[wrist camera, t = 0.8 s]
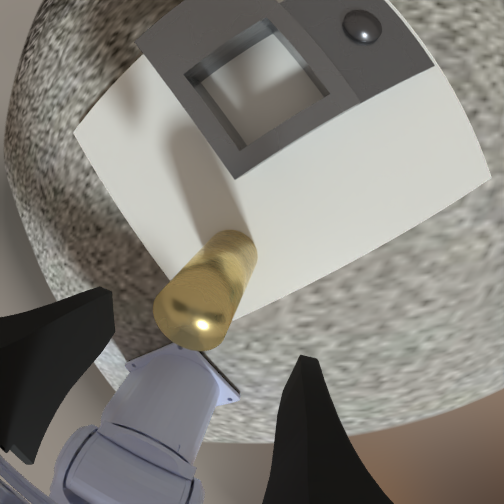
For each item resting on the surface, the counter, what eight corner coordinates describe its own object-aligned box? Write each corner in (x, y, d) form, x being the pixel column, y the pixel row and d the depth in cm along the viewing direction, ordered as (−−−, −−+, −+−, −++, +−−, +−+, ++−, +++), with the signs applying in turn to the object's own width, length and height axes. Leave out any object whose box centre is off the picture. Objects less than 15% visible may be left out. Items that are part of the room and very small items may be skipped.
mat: (214, 322, 21) (210, 330, 20) (81, 131, 17) (73, 132, 16) (483, 175, 13) (491, 177, 12) (327, -48, 9) (327, -56, 8)
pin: (226, 286, 18) (185, 358, 12) (197, 246, 18) (139, 304, 11) (267, 263, 17) (242, 336, 11) (237, 219, 16) (191, 272, 10)
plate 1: (245, 174, 15) (234, 180, 13) (155, 51, 13) (134, 41, 11) (352, 108, 13) (360, 102, 11) (247, -15, 11) (237, -34, 9)
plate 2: (245, 174, 15) (238, 178, 14) (178, 81, 14) (165, 76, 12) (426, 70, 11) (437, 64, 9) (352, -20, 9) (355, -33, 8)
